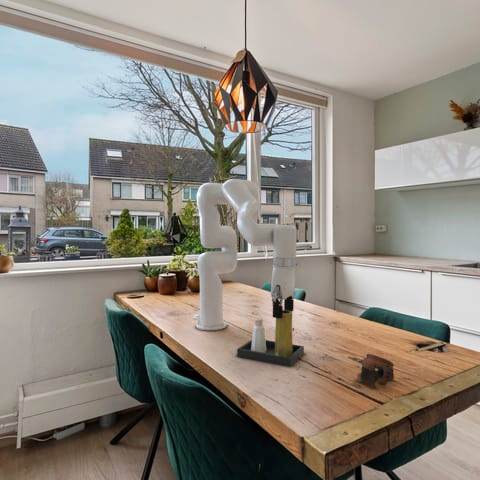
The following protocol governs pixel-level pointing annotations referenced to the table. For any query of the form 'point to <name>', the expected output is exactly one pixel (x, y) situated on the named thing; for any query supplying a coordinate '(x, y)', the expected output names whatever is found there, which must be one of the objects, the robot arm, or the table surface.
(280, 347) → the vase
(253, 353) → the tray
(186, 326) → the table surface
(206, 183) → the robot arm
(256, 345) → the salt shaker
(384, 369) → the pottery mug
